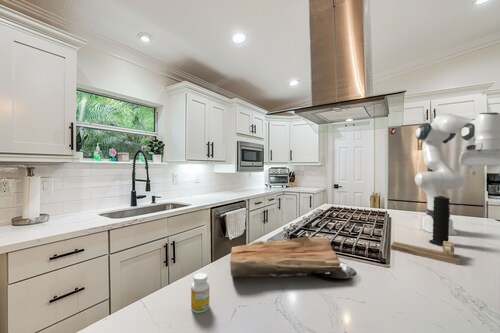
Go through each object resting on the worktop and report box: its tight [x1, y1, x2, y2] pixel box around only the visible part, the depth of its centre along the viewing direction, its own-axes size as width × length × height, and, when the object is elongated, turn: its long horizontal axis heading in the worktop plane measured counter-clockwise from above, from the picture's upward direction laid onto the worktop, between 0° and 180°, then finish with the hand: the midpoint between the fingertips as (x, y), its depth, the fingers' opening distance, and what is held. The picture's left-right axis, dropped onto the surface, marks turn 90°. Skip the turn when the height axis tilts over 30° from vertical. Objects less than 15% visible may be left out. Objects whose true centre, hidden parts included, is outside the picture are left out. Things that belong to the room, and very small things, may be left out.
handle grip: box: [428, 196, 451, 247], centre depth 127 cm, size 10×26×10 cm
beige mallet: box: [442, 241, 455, 256], centre depth 108 cm, size 12×4×6 cm, turn 137°
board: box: [390, 241, 461, 266], centre depth 112 cm, size 8×26×2 cm, turn 47°
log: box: [229, 235, 343, 278], centre depth 91 cm, size 42×18×15 cm, turn 93°
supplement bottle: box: [190, 272, 210, 314], centre depth 69 cm, size 5×5×10 cm
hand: (486, 175), depth 109 cm, fingers open, 8 cm apart
